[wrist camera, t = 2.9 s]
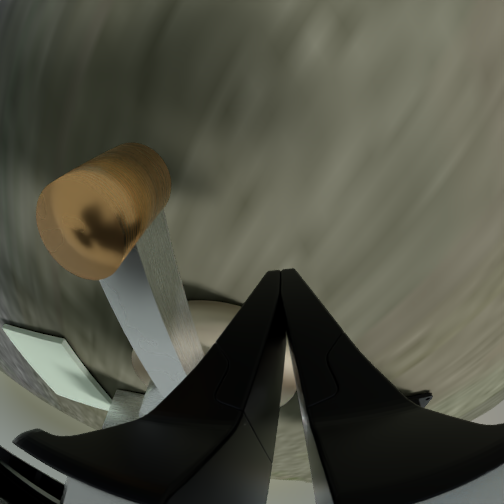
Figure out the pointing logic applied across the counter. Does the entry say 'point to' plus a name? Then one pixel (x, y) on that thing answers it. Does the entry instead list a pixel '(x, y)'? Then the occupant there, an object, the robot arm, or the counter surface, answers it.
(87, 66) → the counter surface
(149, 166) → the crank handle
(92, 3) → the counter surface
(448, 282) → the counter surface
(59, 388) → the mat
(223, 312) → the base
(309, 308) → the robot arm
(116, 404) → the grey rectangular block
